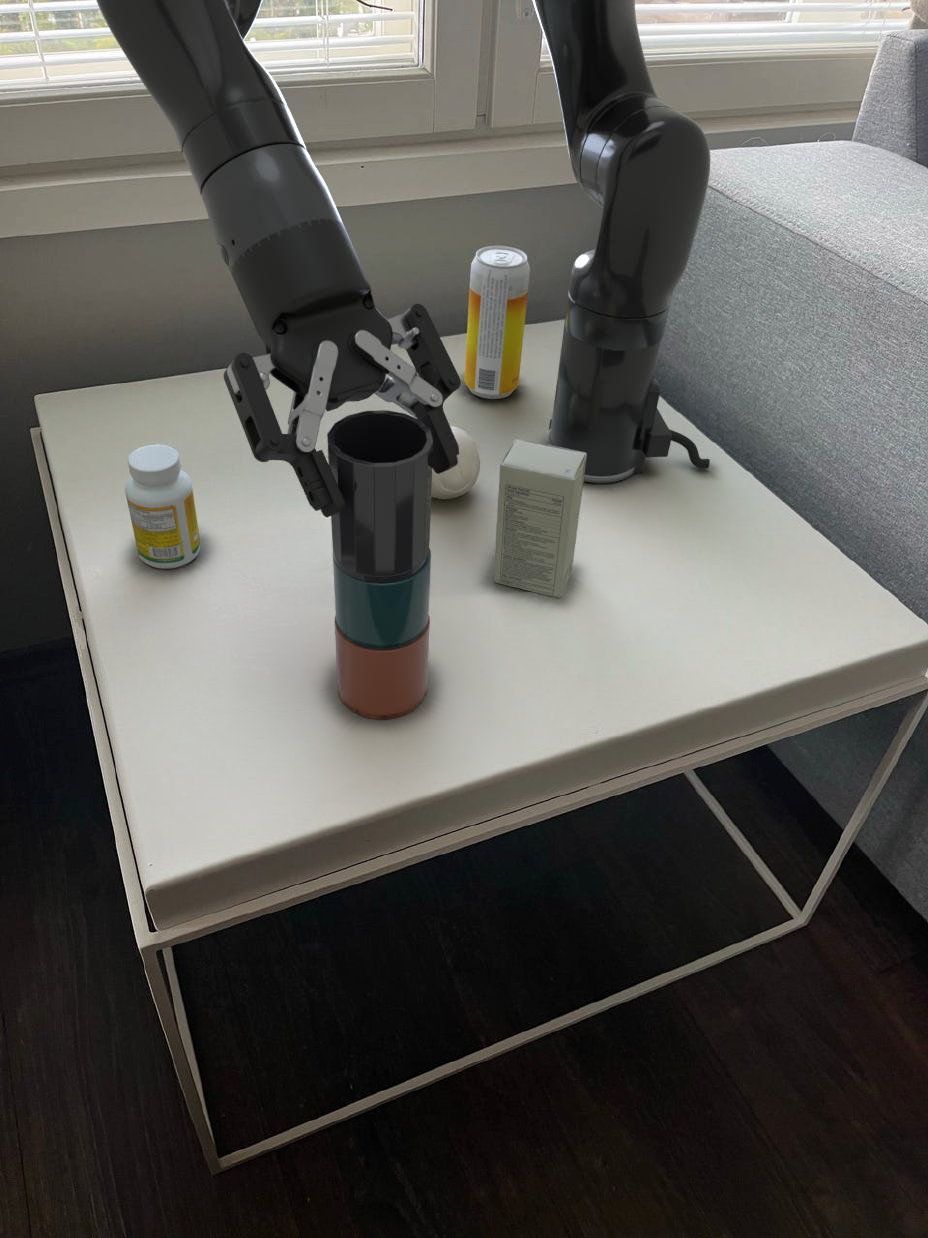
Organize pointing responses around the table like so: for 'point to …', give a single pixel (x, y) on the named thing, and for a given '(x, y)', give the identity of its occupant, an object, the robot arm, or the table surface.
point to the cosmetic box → (538, 516)
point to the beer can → (496, 321)
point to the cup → (381, 494)
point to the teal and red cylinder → (382, 643)
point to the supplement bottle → (162, 507)
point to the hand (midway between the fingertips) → (394, 490)
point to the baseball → (458, 469)
